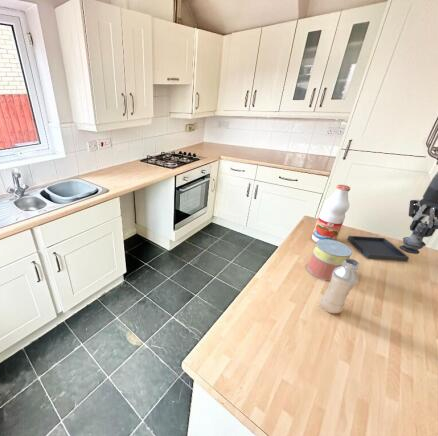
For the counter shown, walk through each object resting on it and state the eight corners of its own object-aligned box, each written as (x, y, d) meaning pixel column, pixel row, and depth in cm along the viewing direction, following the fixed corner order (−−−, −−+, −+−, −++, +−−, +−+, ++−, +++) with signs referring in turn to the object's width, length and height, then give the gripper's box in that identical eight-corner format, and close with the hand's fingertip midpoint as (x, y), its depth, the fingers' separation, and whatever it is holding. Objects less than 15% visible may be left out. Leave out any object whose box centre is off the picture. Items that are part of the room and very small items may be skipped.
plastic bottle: (344, 310, 81) (369, 263, 72) (335, 319, 78) (360, 272, 69) (323, 298, 86) (344, 252, 77) (314, 306, 83) (334, 260, 73)
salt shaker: (393, 245, 91) (409, 217, 85) (410, 244, 91) (426, 216, 85) (408, 254, 86) (426, 225, 80) (425, 254, 85) (444, 225, 80)
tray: (382, 241, 116) (384, 237, 115) (407, 261, 103) (409, 257, 102) (347, 239, 118) (349, 235, 117) (367, 258, 105) (369, 254, 104)
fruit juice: (335, 239, 118) (357, 185, 105) (333, 248, 112) (357, 192, 99) (312, 233, 124) (331, 181, 110) (309, 241, 117) (329, 187, 104)
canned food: (321, 260, 105) (330, 236, 99) (347, 277, 95) (359, 252, 90) (301, 265, 102) (309, 242, 96) (326, 283, 92) (337, 258, 86)
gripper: (486, 195, 70) (452, 244, 79) (434, 179, 83) (409, 222, 91) (461, 196, 70) (429, 245, 78) (412, 180, 83) (390, 223, 91)
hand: (419, 233), depth 85 cm, fingers closed on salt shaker, 3 cm apart
